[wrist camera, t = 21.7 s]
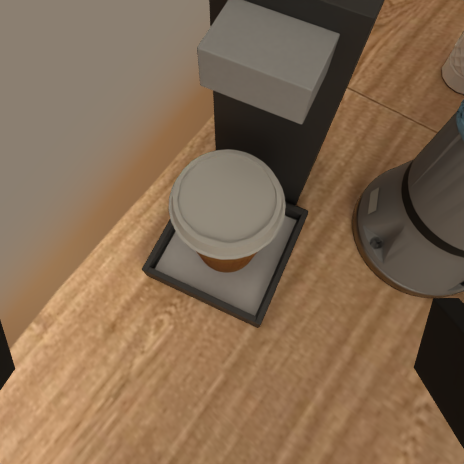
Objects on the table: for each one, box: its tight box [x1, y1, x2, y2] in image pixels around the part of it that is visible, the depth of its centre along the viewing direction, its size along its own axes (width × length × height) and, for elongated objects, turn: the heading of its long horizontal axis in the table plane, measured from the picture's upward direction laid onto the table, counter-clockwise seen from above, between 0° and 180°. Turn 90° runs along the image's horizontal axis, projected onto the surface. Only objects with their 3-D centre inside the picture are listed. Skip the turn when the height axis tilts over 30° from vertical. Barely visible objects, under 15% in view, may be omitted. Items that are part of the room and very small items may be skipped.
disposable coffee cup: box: [169, 149, 286, 273], centre depth 35 cm, size 10×10×12 cm
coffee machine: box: [142, 0, 384, 328], centre depth 31 cm, size 13×22×26 cm, turn 155°
